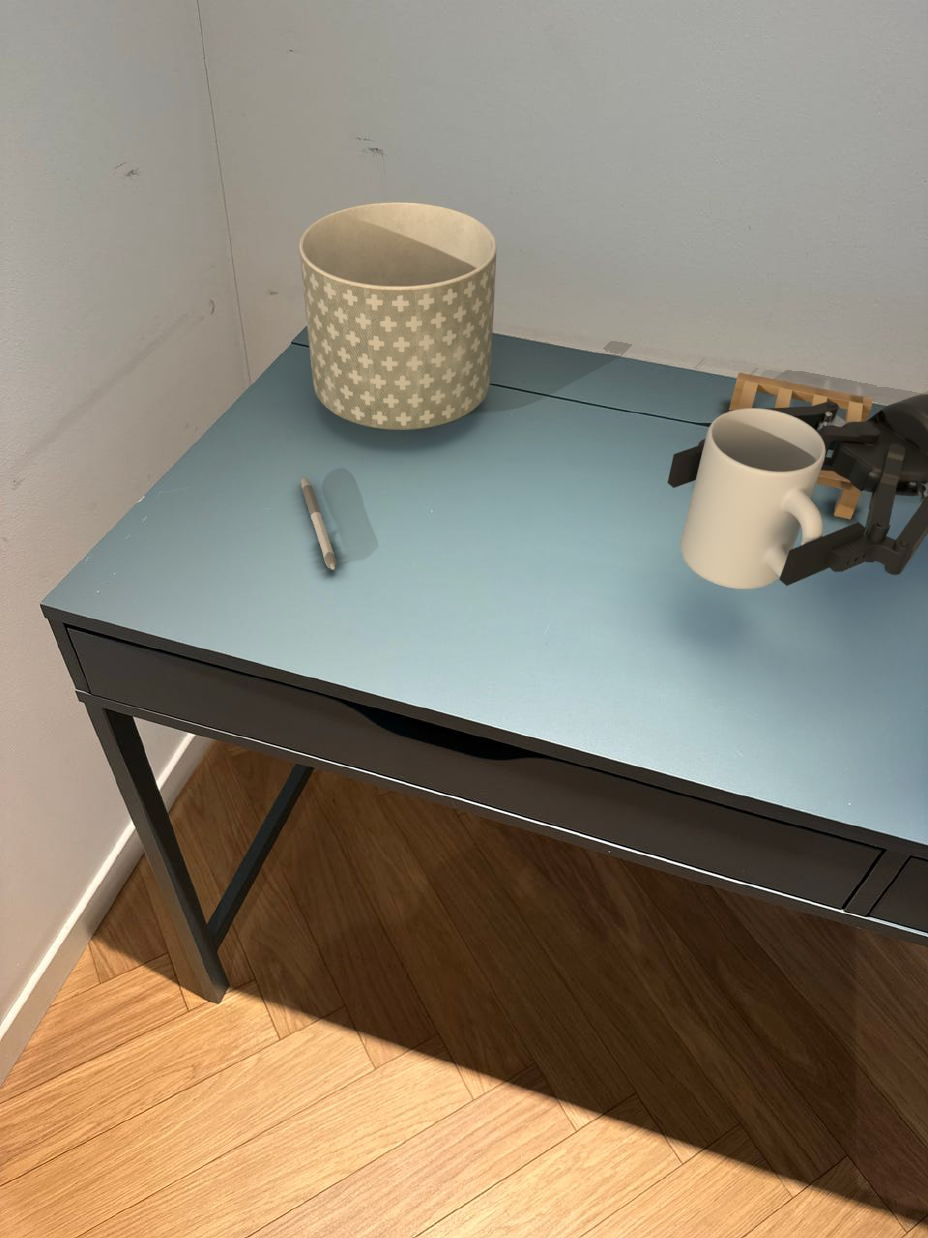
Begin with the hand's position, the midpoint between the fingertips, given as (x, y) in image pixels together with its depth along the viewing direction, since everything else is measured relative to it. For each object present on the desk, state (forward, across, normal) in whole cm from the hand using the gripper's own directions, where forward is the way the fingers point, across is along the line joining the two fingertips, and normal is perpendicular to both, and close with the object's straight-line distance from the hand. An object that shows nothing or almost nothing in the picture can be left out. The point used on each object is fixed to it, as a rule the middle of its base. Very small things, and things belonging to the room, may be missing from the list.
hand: (727, 517), depth 70 cm
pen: (+21, +30, -15) cm, 39 cm away
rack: (-27, +17, -14) cm, 35 cm away
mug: (-4, 0, -7) cm, 8 cm away
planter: (+4, +45, -15) cm, 47 cm away
